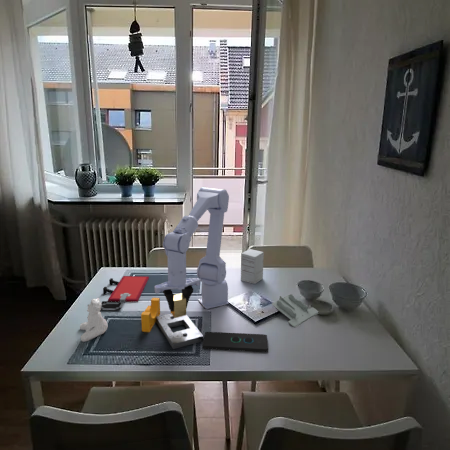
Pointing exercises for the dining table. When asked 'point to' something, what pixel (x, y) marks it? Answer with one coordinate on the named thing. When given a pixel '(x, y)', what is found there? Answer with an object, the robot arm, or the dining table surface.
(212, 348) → the smart home device
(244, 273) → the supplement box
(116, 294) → the red board with handle
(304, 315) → the metal bracket
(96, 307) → the sitting furry creature
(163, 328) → the metal plate with hole
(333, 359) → the dining table surface
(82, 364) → the dining table surface
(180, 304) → the brass block
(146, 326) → the pipe clamp
